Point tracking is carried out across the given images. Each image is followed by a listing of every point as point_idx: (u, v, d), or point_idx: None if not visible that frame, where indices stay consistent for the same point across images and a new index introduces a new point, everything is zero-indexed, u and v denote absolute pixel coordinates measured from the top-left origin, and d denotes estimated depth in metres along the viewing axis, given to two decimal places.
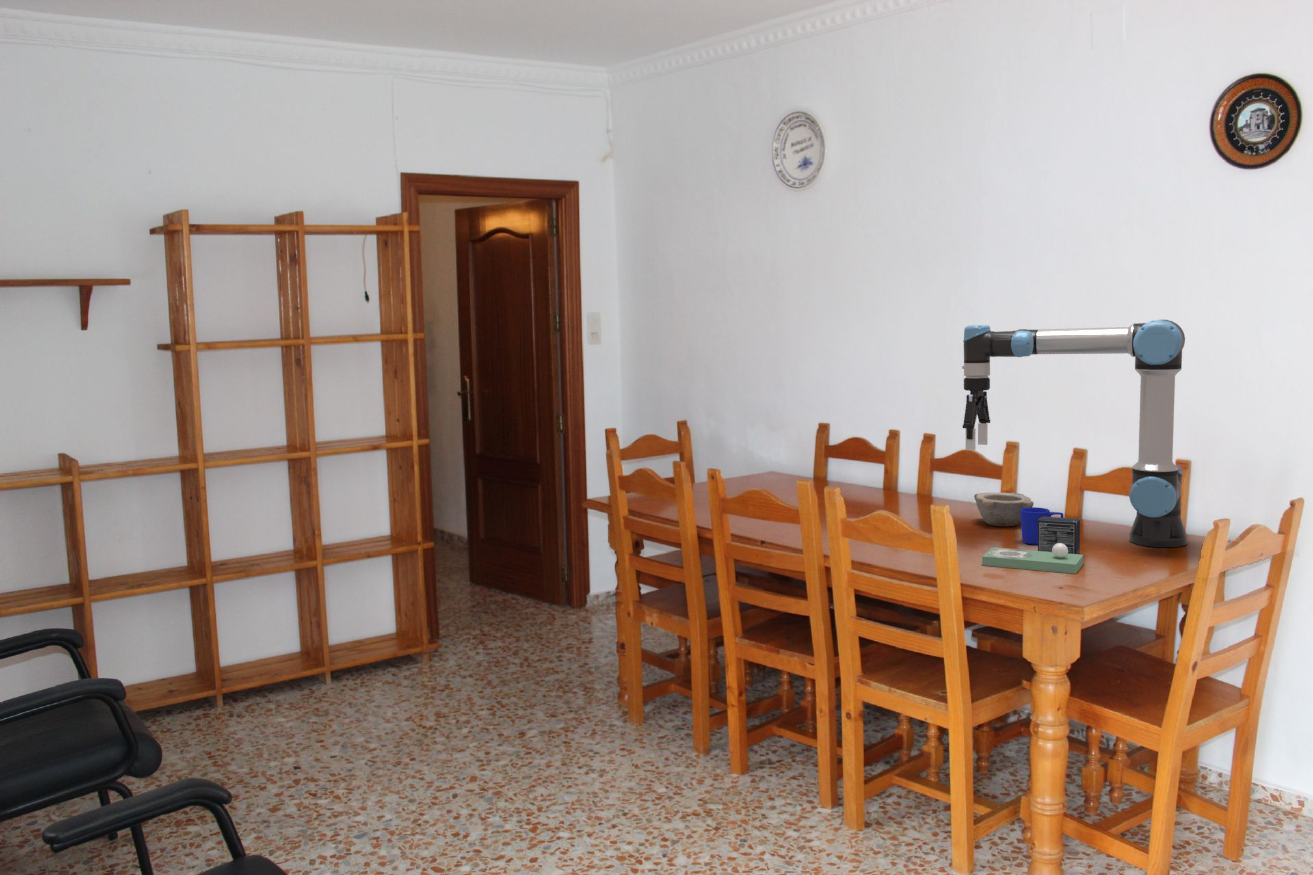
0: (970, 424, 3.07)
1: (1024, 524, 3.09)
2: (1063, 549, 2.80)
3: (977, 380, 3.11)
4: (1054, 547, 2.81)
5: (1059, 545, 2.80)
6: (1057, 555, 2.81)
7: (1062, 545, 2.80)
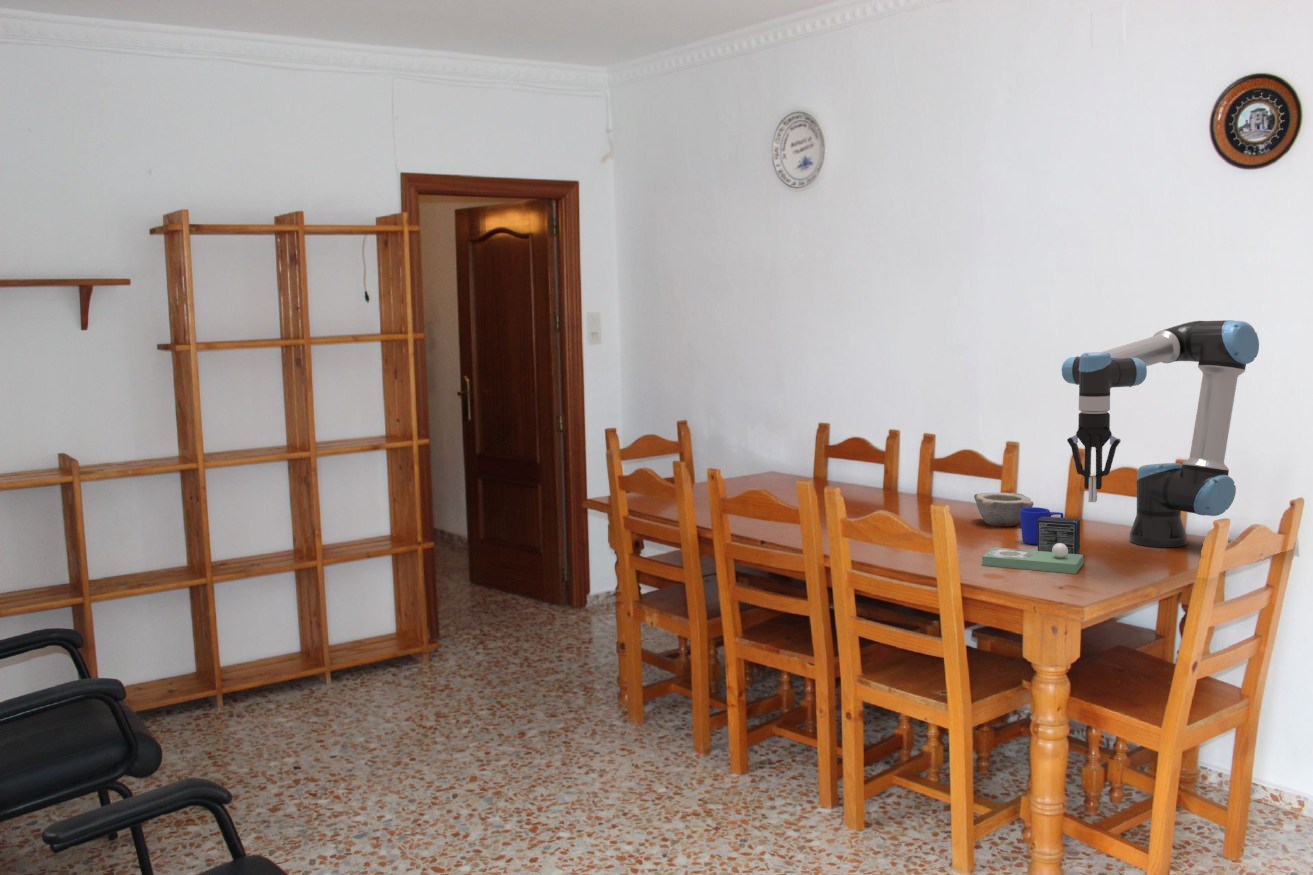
0: None
1: (1024, 524, 3.09)
2: (1063, 549, 2.80)
3: (1079, 415, 2.74)
4: (1054, 547, 2.81)
5: (1059, 545, 2.80)
6: (1057, 555, 2.81)
7: (1062, 545, 2.80)
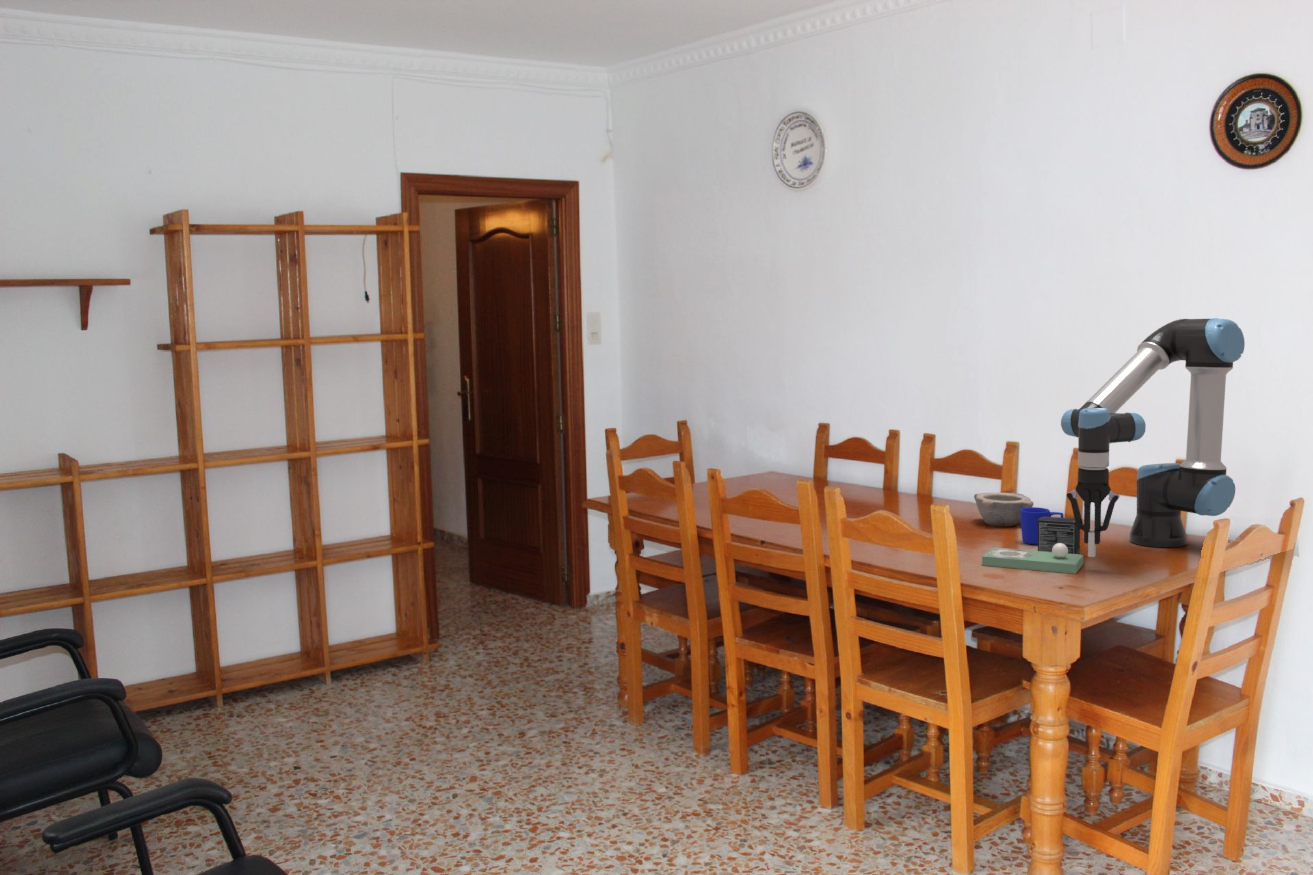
0: (1077, 525, 2.78)
1: (1024, 524, 3.09)
2: (1063, 549, 2.80)
3: (1078, 470, 2.76)
4: (1054, 547, 2.81)
5: (1059, 545, 2.80)
6: (1057, 555, 2.81)
7: (1062, 545, 2.80)
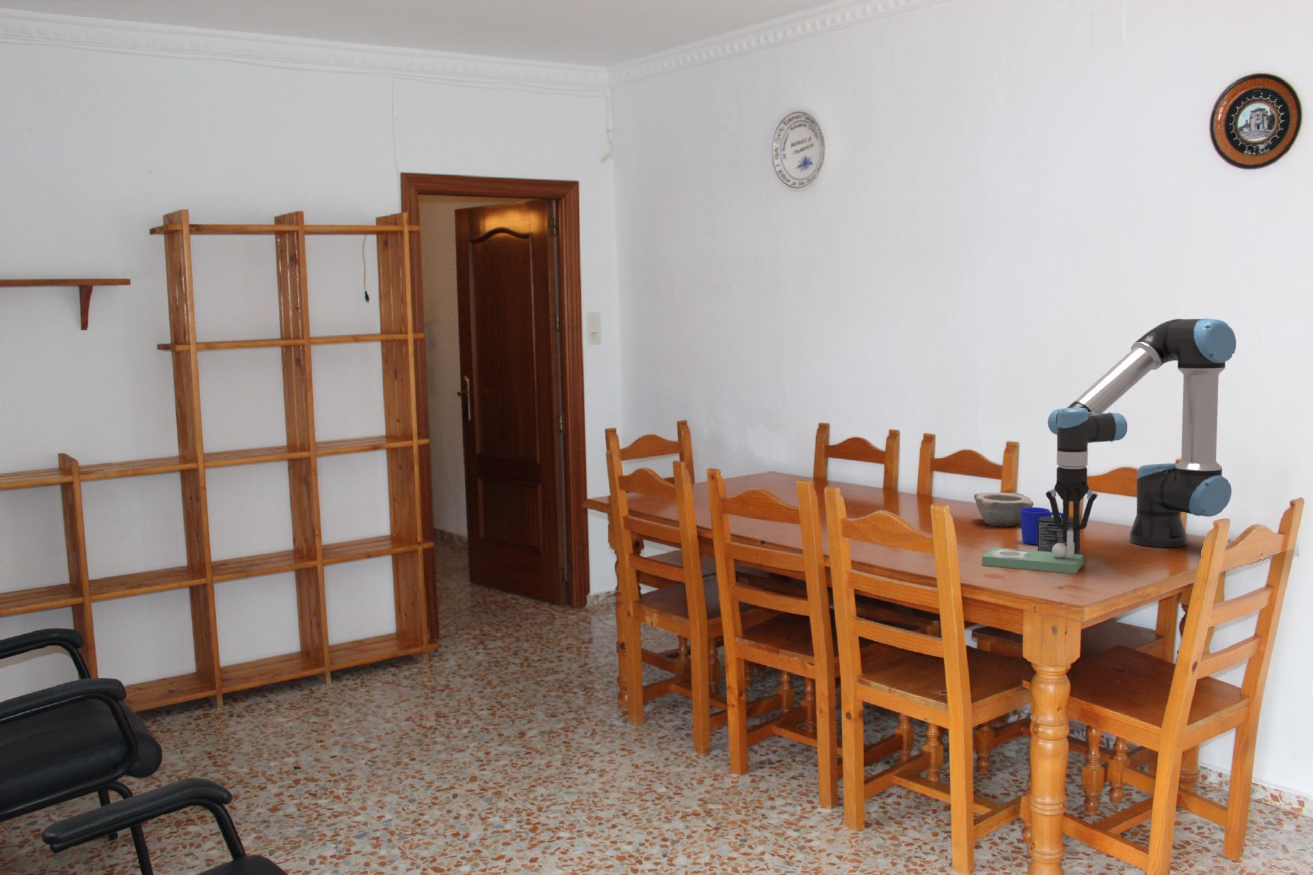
0: None
1: (1024, 524, 3.09)
2: (1063, 549, 2.80)
3: (1057, 469, 2.78)
4: (1054, 547, 2.81)
5: (1059, 545, 2.80)
6: (1057, 555, 2.81)
7: (1062, 545, 2.80)
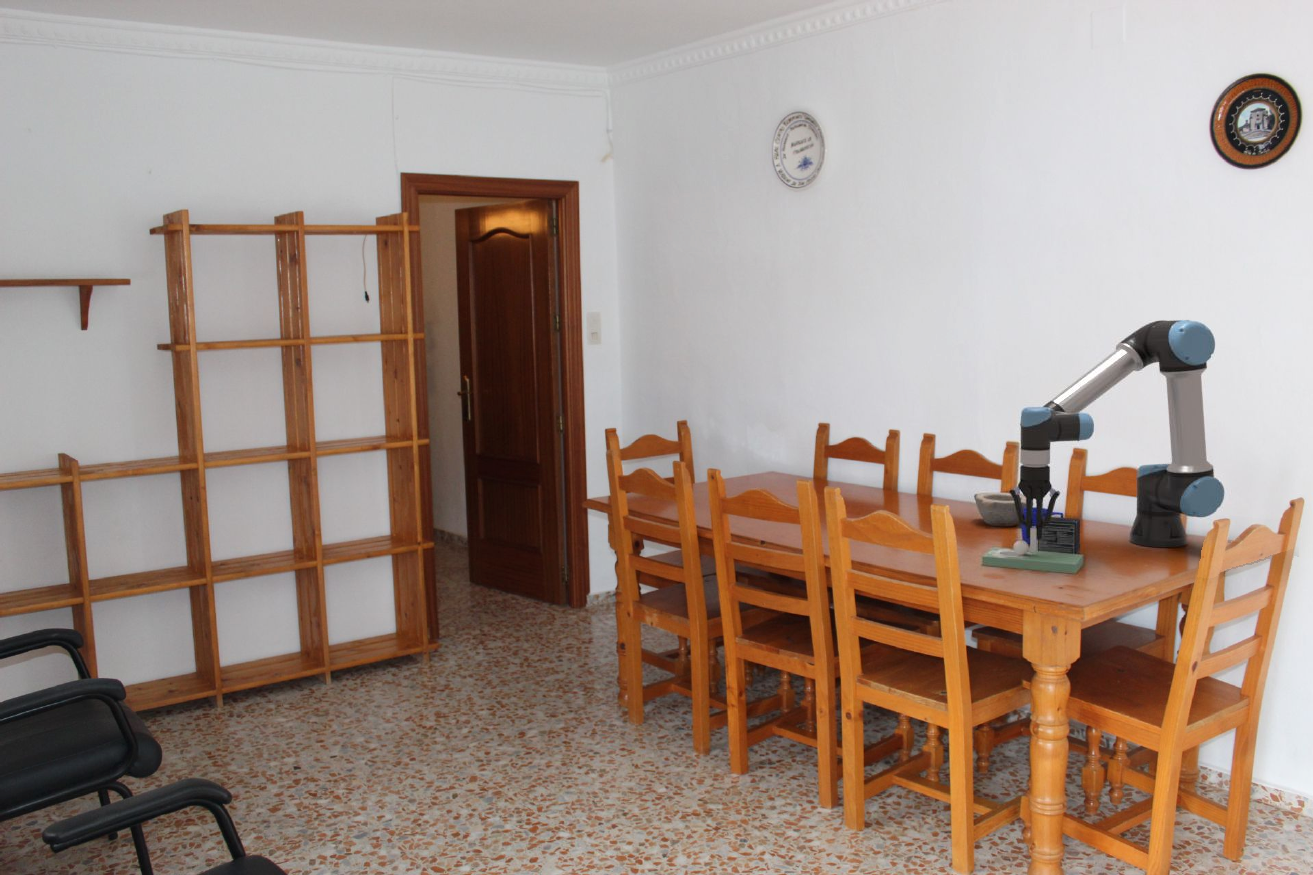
0: None
1: None
2: (1023, 552, 2.85)
3: (1020, 467, 2.83)
4: (1023, 543, 2.85)
5: (1026, 547, 2.85)
6: (1015, 547, 2.85)
7: (1027, 550, 2.85)
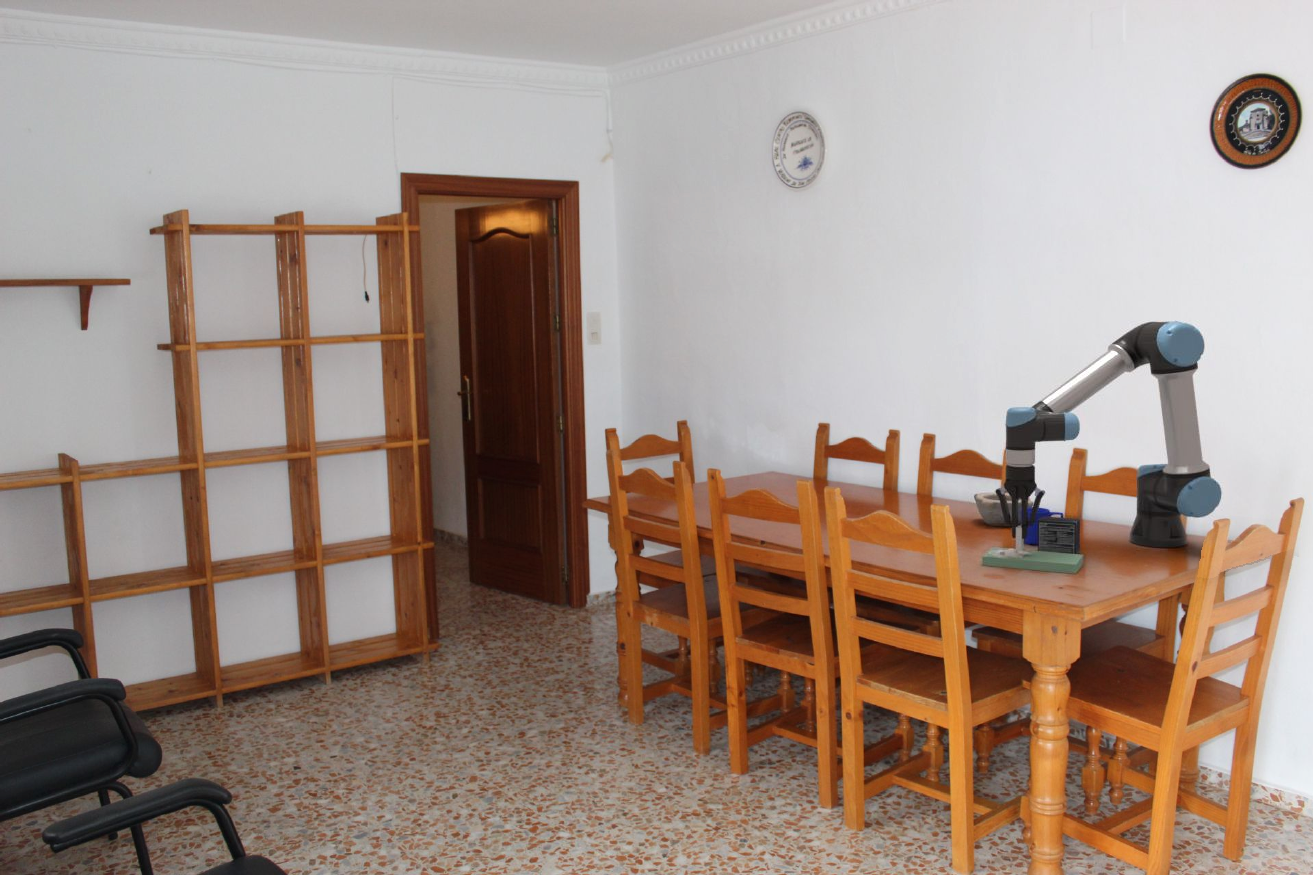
0: None
1: None
2: (1016, 551, 2.87)
3: (1006, 467, 2.85)
4: (1007, 551, 2.88)
5: (1011, 548, 2.88)
6: None
7: (1014, 549, 2.88)
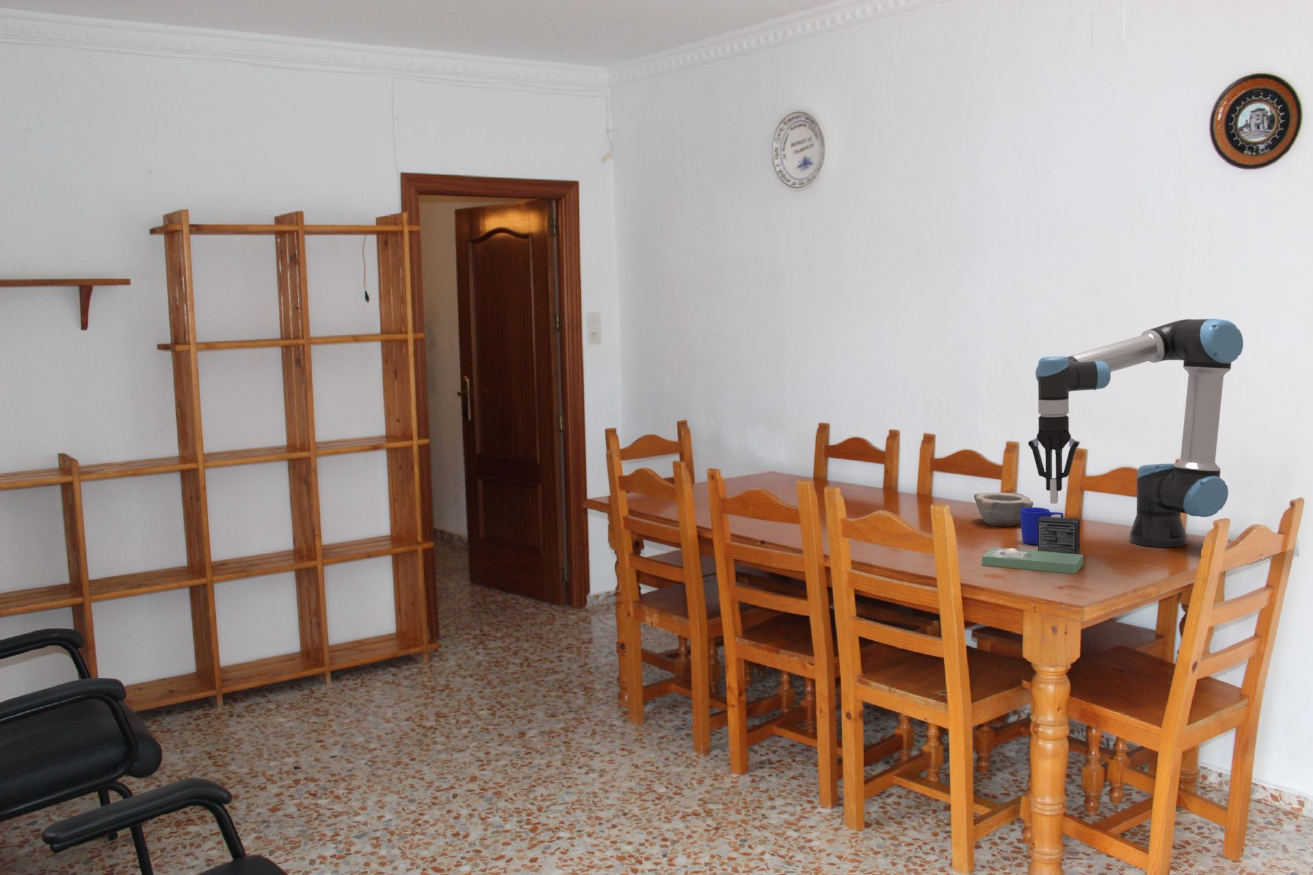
0: None
1: (1024, 524, 3.09)
2: (1016, 551, 2.87)
3: (1038, 418, 2.79)
4: (1007, 550, 2.88)
5: (1011, 548, 2.88)
6: None
7: None
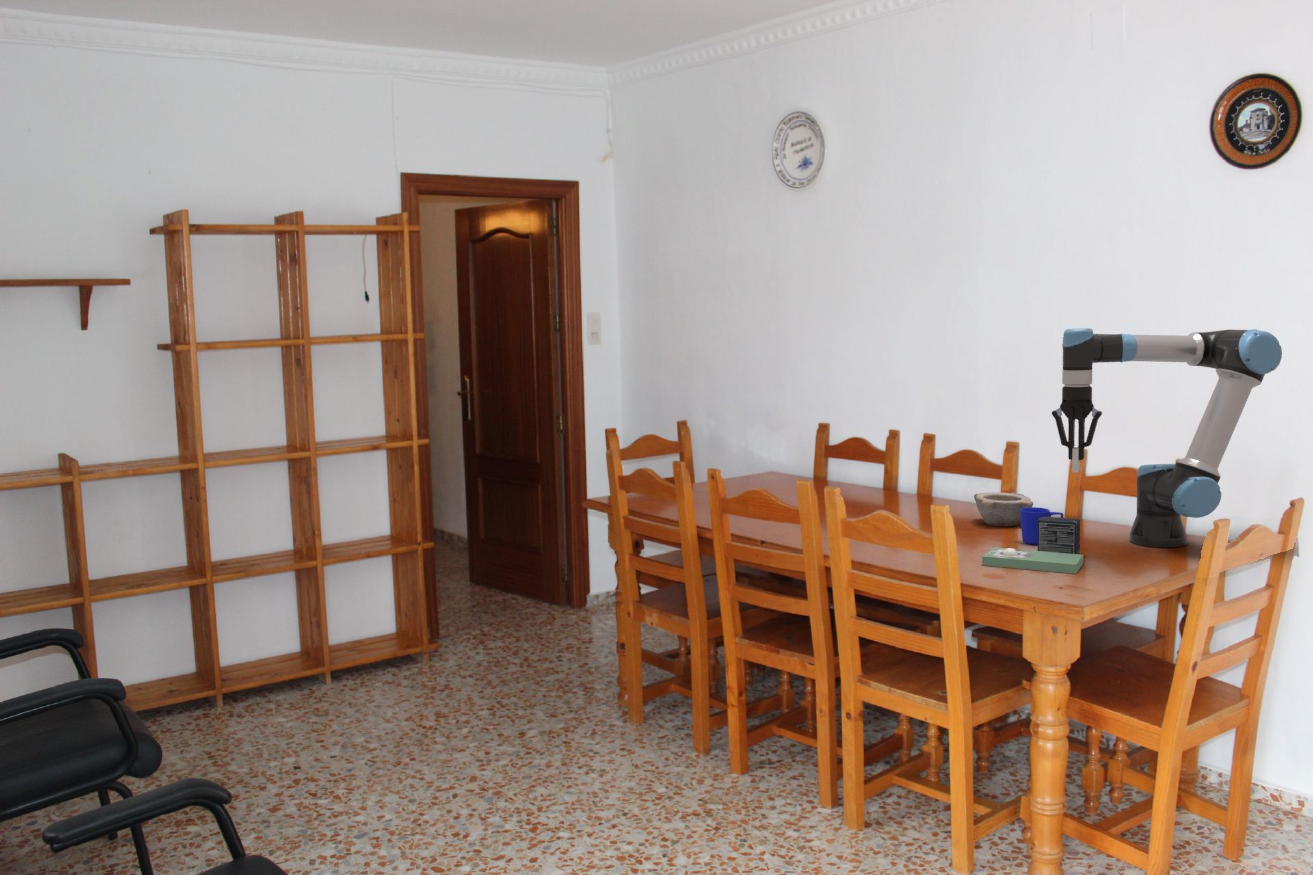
0: None
1: (1024, 524, 3.09)
2: (1013, 550, 2.87)
3: (1062, 388, 2.86)
4: (1004, 551, 2.89)
5: (1008, 548, 2.89)
6: None
7: (1011, 548, 2.89)
